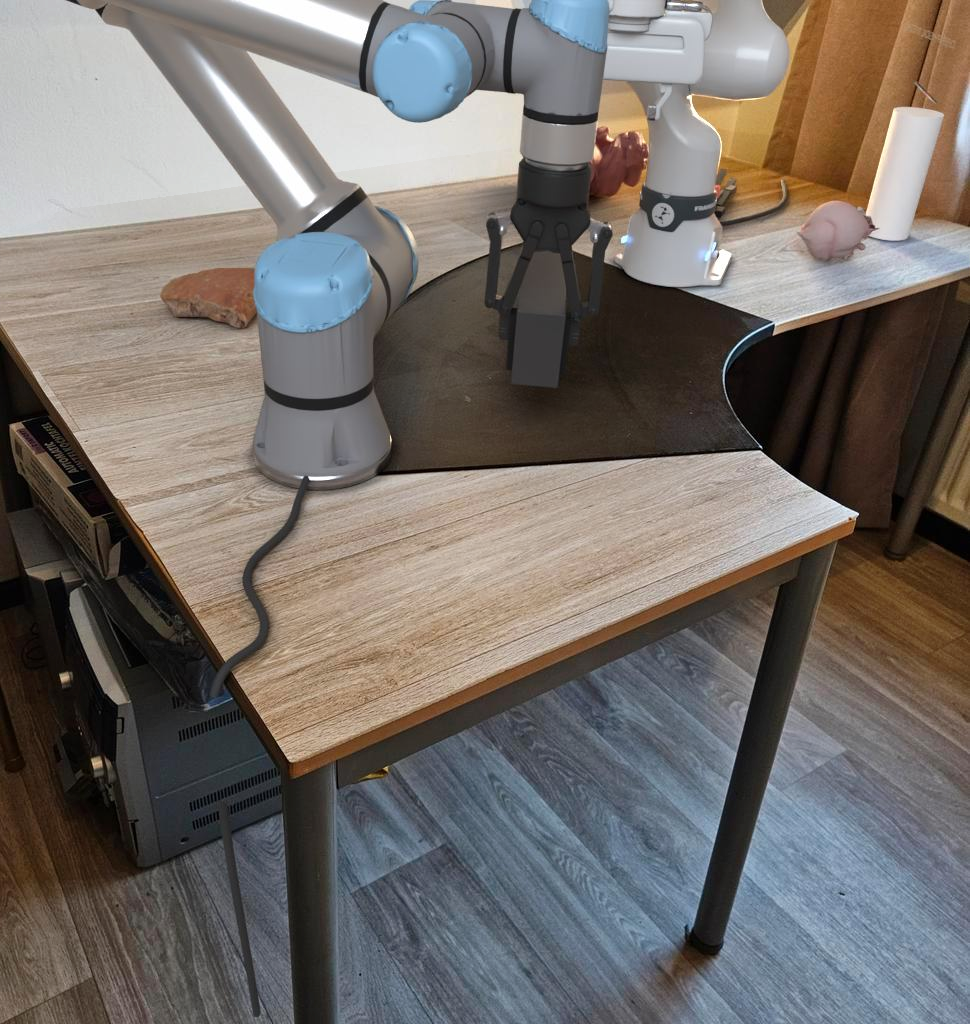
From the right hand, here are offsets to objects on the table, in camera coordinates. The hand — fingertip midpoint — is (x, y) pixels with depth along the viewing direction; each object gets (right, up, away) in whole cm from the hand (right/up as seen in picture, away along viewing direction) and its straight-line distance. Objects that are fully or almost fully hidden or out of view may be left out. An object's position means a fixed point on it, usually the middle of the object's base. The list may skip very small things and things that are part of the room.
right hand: (615, 117), depth 124 cm
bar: (-11, -30, -6) cm, 33 cm away
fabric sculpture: (+1, +10, +68) cm, 68 cm away
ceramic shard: (-56, -21, +17) cm, 62 cm away
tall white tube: (+59, +3, +61) cm, 85 cm away
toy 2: (+45, -5, +48) cm, 66 cm away
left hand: (-11, -34, -13) cm, 38 cm away
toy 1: (+29, +11, +71) cm, 78 cm away
